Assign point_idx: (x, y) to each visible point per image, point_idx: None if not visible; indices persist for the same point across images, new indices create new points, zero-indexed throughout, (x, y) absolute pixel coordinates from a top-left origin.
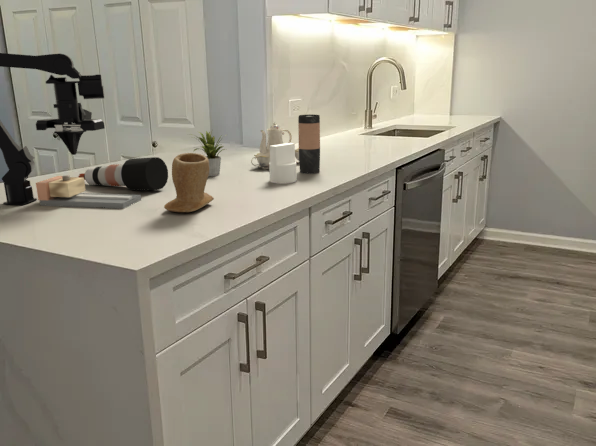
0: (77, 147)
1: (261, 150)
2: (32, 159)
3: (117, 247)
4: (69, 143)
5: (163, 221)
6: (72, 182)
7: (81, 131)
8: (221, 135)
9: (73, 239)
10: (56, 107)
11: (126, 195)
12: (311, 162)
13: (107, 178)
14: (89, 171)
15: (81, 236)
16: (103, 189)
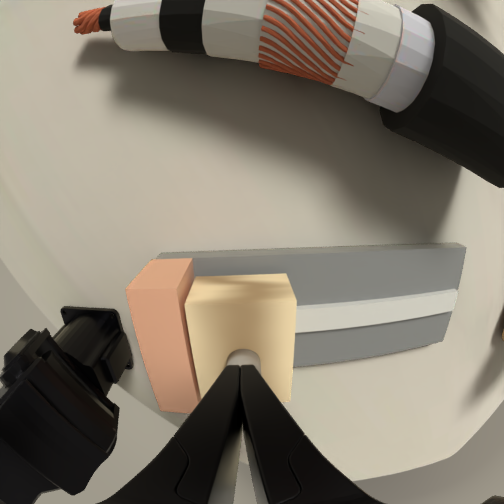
0: (280, 405)
1: None
2: (74, 430)
3: (438, 446)
4: (231, 482)
5: (489, 368)
6: (291, 376)
7: None
8: None
9: (388, 458)
10: None
11: (435, 262)
12: None
13: (277, 68)
14: (134, 26)
15: (395, 451)
16: (249, 90)
